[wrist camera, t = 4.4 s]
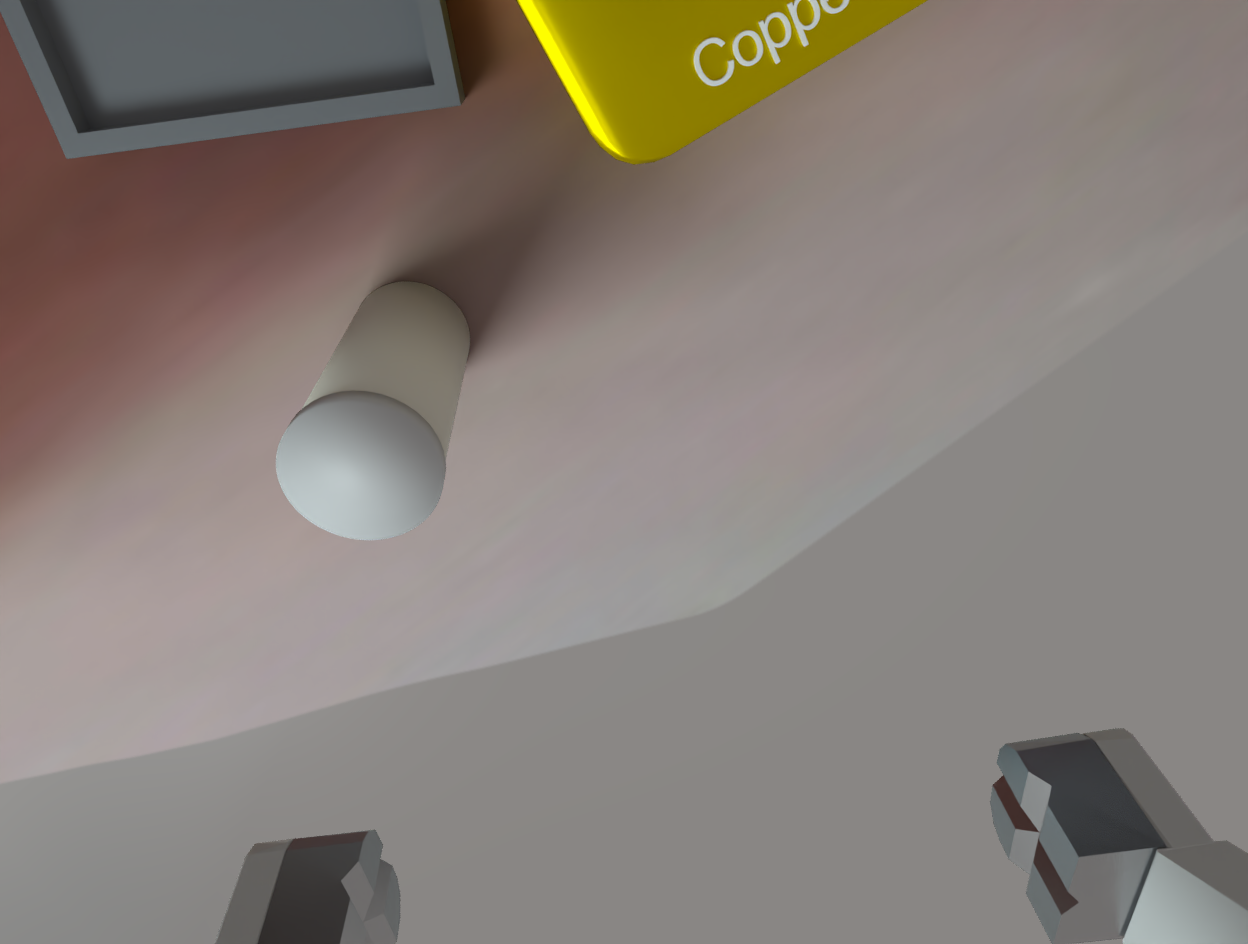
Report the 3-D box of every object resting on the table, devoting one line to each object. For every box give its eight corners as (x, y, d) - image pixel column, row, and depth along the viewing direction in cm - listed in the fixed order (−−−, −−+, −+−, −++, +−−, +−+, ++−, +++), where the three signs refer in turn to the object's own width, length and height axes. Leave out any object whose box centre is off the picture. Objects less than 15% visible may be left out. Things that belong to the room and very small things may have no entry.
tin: (370, 397, 39) (306, 550, 29) (336, 288, 36) (251, 414, 26) (483, 381, 39) (459, 528, 29) (457, 271, 36) (421, 390, 26)
